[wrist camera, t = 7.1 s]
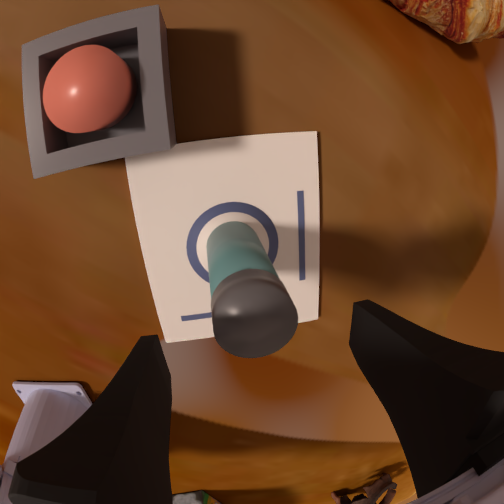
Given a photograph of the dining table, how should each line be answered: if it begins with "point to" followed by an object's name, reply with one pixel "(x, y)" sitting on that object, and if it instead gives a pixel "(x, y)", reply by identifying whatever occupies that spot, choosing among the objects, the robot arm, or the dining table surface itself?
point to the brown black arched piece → (371, 493)
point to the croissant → (458, 17)
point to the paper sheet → (226, 218)
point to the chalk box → (194, 498)
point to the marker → (247, 294)
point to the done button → (89, 90)
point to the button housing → (141, 113)
